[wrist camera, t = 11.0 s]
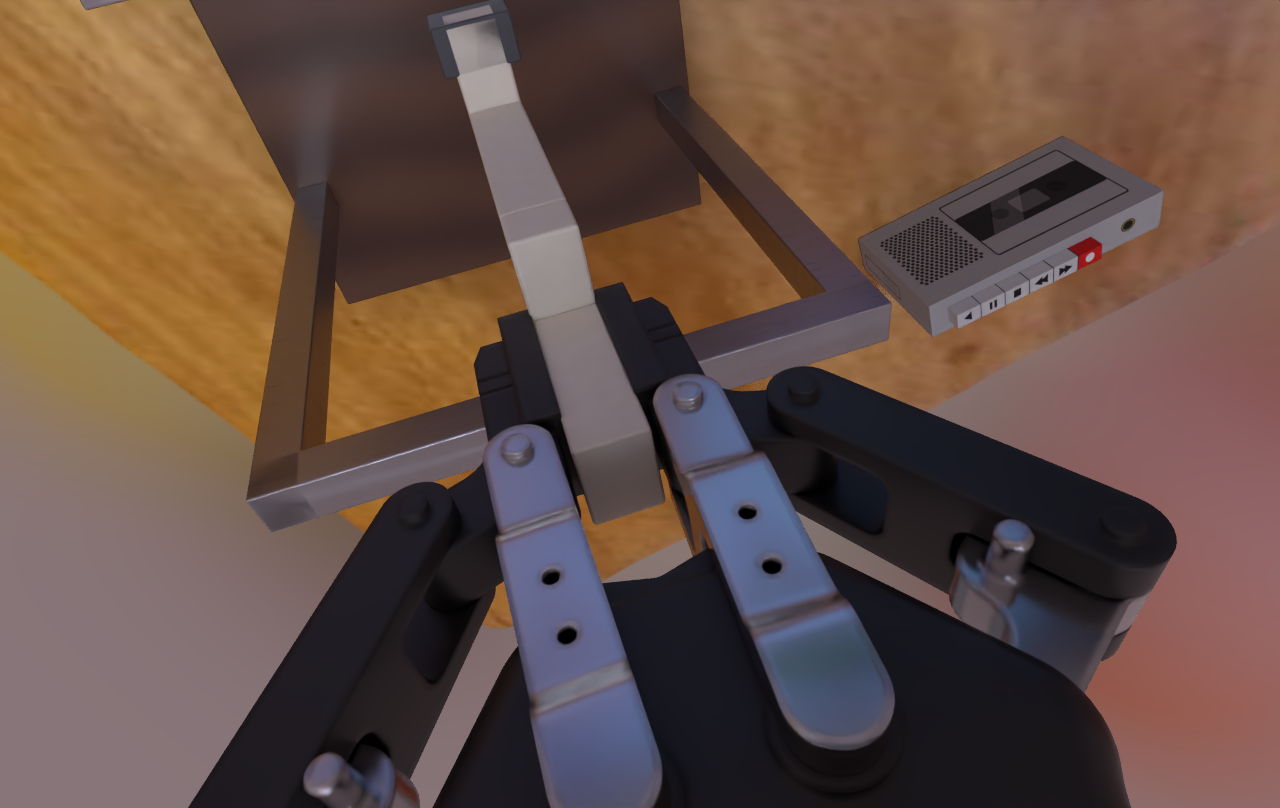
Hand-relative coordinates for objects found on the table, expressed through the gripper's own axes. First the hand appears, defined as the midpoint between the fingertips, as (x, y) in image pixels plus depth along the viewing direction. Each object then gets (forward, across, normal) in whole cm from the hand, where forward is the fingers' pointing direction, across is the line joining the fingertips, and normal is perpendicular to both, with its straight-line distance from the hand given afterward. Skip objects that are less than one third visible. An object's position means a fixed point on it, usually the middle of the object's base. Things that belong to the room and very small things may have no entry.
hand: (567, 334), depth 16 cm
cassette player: (+28, -31, +19) cm, 46 cm away
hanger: (+8, 0, +1) cm, 8 cm away
